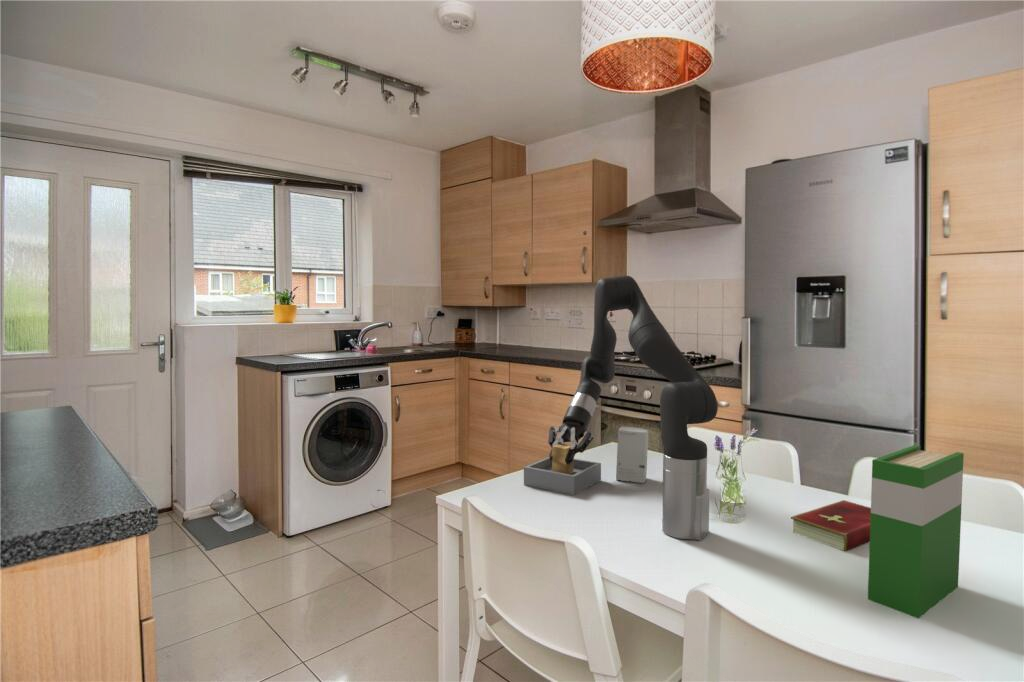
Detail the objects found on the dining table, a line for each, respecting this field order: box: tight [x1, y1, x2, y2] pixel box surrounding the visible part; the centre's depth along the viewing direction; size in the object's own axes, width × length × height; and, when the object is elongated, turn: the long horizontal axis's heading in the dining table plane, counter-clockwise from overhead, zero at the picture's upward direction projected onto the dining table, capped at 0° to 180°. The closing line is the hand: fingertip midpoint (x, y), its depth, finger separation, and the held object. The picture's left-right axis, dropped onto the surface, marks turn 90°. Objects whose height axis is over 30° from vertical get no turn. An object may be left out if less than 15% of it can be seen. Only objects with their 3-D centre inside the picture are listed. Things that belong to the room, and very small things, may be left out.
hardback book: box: [867, 444, 965, 619], centre depth 98 cm, size 18×7×24 cm, turn 126°
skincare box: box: [615, 426, 650, 484], centre depth 164 cm, size 8×6×15 cm
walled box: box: [523, 456, 602, 496], centre depth 162 cm, size 16×16×5 cm
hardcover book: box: [790, 499, 871, 553], centre depth 126 cm, size 12×21×4 cm, turn 121°
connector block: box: [551, 443, 573, 475], centre depth 162 cm, size 4×4×8 cm
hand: (559, 461), depth 160 cm, fingers closed on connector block, 4 cm apart
